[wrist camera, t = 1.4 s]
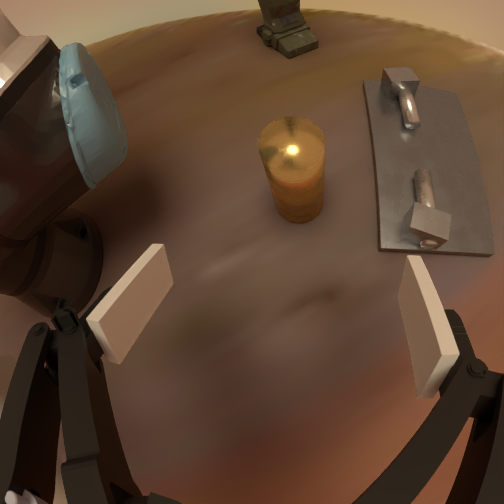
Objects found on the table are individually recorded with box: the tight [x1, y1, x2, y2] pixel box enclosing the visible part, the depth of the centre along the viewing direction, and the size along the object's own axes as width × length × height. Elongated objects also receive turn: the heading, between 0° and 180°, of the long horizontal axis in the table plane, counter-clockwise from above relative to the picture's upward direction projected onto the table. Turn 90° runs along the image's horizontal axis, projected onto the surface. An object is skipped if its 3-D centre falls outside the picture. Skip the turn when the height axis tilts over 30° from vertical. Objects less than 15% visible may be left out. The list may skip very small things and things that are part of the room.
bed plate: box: [363, 67, 494, 257], centre depth 28 cm, size 23×14×5 cm, turn 175°
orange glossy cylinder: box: [258, 117, 325, 223], centre depth 26 cm, size 5×5×11 cm
